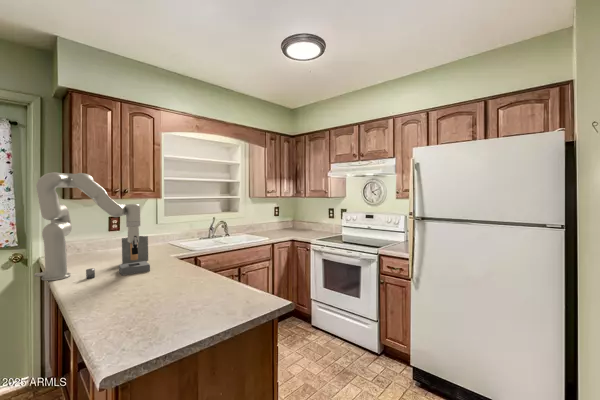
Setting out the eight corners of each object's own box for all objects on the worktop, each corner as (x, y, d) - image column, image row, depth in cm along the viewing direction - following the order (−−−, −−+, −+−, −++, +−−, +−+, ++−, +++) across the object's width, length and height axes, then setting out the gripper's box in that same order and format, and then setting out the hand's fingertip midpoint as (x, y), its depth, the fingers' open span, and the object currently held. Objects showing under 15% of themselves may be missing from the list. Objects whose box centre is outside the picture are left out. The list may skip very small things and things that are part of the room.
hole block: (121, 275, 169) (121, 268, 169) (118, 271, 179) (118, 264, 178) (150, 270, 179) (149, 264, 179) (145, 267, 188) (145, 260, 188)
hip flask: (122, 264, 195) (121, 234, 194) (121, 263, 198) (121, 234, 197) (148, 260, 204) (148, 232, 204) (147, 259, 208) (147, 232, 207)
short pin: (86, 279, 162) (86, 270, 162) (86, 277, 165) (85, 269, 165) (95, 278, 164) (94, 269, 164) (94, 276, 168) (94, 268, 167)
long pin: (131, 260, 176) (130, 240, 175) (130, 259, 179) (129, 240, 178) (138, 259, 178) (138, 240, 178) (137, 258, 181) (136, 239, 181)
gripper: (124, 223, 182) (124, 252, 182) (128, 225, 169) (129, 257, 170) (137, 222, 187) (138, 250, 187) (143, 224, 174) (143, 255, 174)
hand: (134, 253), depth 178 cm, fingers closed on long pin, 4 cm apart
